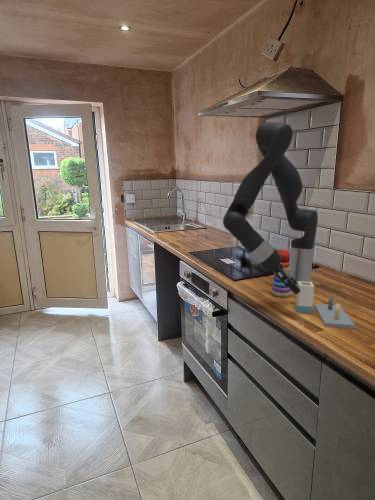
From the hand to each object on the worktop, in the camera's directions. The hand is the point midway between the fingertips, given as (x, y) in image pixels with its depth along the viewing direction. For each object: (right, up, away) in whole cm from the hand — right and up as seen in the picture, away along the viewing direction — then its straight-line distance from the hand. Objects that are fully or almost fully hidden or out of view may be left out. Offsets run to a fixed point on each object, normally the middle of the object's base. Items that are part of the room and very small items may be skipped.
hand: (296, 288), depth 115 cm
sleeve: (+3, -8, +1) cm, 9 cm away
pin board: (+11, -9, -4) cm, 15 cm away
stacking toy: (-1, -5, +17) cm, 17 cm away
